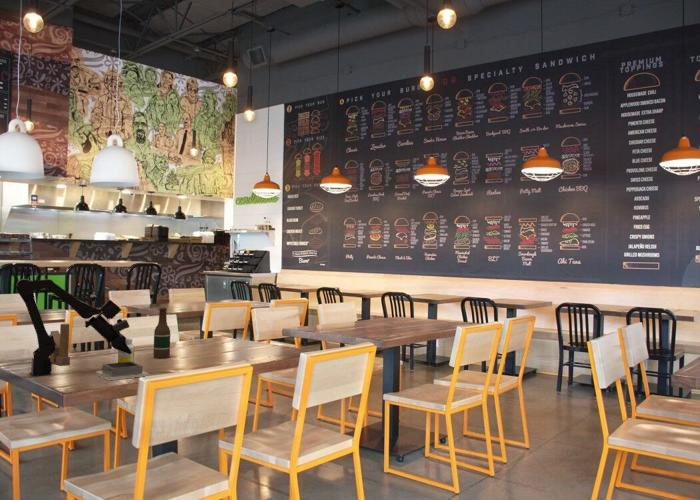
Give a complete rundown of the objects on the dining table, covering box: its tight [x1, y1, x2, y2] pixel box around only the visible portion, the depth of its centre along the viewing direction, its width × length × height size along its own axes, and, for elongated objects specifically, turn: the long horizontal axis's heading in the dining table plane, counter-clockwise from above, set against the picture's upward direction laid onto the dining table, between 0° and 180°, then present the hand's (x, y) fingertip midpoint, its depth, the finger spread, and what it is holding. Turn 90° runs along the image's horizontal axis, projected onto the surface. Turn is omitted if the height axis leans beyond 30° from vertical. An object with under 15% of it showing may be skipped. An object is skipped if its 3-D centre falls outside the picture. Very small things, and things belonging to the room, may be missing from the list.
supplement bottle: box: [117, 337, 136, 363], centre depth 255 cm, size 7×7×13 cm
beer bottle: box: [152, 306, 171, 360], centre depth 286 cm, size 8×8×24 cm
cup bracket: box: [95, 361, 150, 382], centre depth 241 cm, size 16×16×4 cm
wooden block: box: [49, 323, 71, 366], centre depth 262 cm, size 4×11×18 cm, turn 55°
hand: (129, 352), depth 256 cm, fingers closed on supplement bottle, 7 cm apart
